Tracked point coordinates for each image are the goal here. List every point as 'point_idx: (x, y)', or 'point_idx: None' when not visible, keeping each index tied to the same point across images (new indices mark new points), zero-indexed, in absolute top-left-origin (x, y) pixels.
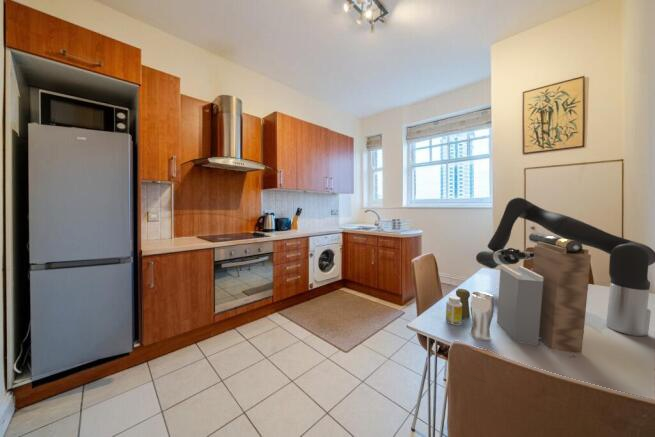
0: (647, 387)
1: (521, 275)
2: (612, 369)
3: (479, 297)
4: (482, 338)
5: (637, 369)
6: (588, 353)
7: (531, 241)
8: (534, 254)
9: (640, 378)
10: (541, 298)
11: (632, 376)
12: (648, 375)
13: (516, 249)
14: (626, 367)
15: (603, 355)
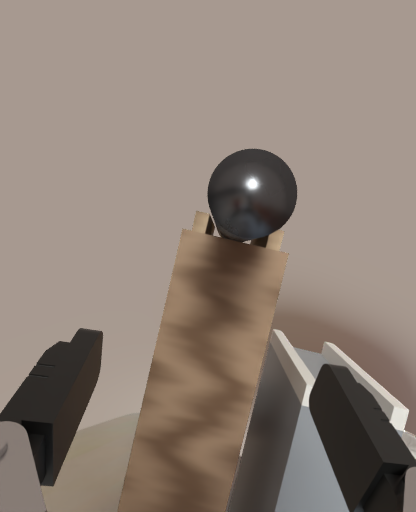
0: (127, 415)
1: (326, 342)
2: (132, 444)
3: (408, 432)
4: None
5: (80, 440)
6: (121, 485)
7: (266, 235)
8: (276, 297)
9: (110, 426)
10: (258, 389)
11: (118, 430)
12: (83, 429)
13: (353, 377)
14: (95, 445)
15: (91, 477)
